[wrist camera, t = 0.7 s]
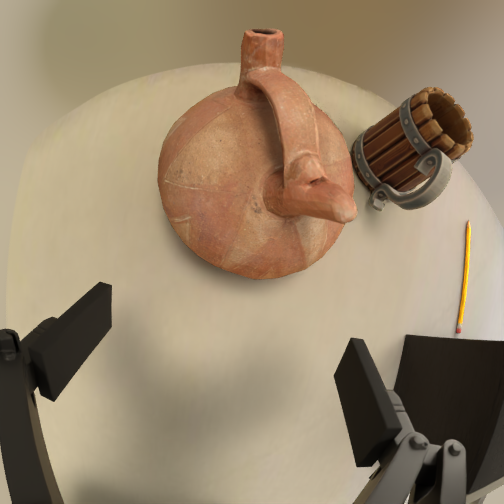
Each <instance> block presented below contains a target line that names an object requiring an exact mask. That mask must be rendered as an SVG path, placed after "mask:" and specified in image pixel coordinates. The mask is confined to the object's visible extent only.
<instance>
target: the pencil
mask: <svg viewBox="0 0 504 504" xmlns="http://www.w3.org/2000/svg"><path fill="white" fill-rule="evenodd" d="M470 232H471V228H470V223H469V220H468V224H467V233H466V255H465V269H464V280H463V289H462V298H461V305H460V312H459V318H458V324H457V330H456V333H460V332H461V327H462V321H463V314H464V307H465V300H466V291H467V282H468V271H469V257H470Z"/></svg>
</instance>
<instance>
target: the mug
mask: <svg viewBox="0 0 504 504" xmlns="http://www.w3.org/2000/svg"><path fill="white" fill-rule="evenodd" d="M454 102H455V100H454V98H453V97H452V96H451V95H449V94H447V93H444V91H443V90H442V89H440V88H438V87H434V88H432V87H427V88H424V89H423V90H421V91H420V92H419V93H416V94H414V95H412V96H411V97H410V98H408V99H407V100H405V101H404V102H403V103H402V104H401V106H400V107H398V108H397V109H396V110H394V111H393V112H392V113H390V114H389V115H387V116H386V117H385V118H383V119H382V120H381V121H379V122H378V123H377V124H375V125H373V126H371V127H369V128H368V129H367V130H365V131H364V132H363V133H362V134H360V135H359V137H358V138H357V140H356V141H355V143H354V145H353V150H352V151H353V155H352V157H353V163H354V166H355V169H356V171H357V173H358V175H359V177H360V178H361V180H362V181H363V182H364V184H365V185H366V186H367V187H368V188H369V189H370V190H371V191H373V193H372V195H371V197H370V200H369V205H370V206H372V207H373V208H375V209H376V210H378V211H383V208H384V205H385V204H384V203H382V202H383V200H384V199H385V198H389V199H390V200H391V201H392V202H394V203H395V204H397V205H398V206H400V207H401V208H403V209H405V210H413V209H418V208H421V207H424V206H426V205H428V204H429V203H431V202H432V201H434V200H435V199H436V198H437V197H438V196H439V195H440V194H441V193H442V192H443V190H444V189H445V187H446V186H447V184H448V182H449V180H450V177H451V174H452V164H453V163H454V162H456V161H457V160H458V159H460V158H461V156H462V155H463V154H465V153H466V152H468V151H469V149H470V148H471V146H472V142H473V138H474V137H473V133H472V132H471V131H470V130H471V124H470V122H469V120H468V118H464V115H465V112H464V110H463V109H462V108H461V106H460V105H458V104H454ZM429 177H430V179H429V180H428V181H427V182H426V183H425V184H424V185H423V186H422V187H421V188H420V189H418V190H416V191H415V192H412V193H409V192H411V191H412V190H414V189H415V188H416V186H417V185H419V184H420V183H422V182H423V181H425V180H426V179H428V178H429ZM407 193H409V194H407Z"/></svg>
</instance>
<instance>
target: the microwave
mask: <svg viewBox="0 0 504 504" xmlns="http://www.w3.org/2000/svg"><path fill="white" fill-rule="evenodd" d="M394 392H395V393H396V394H397V395H398V396H399V398H400V400H401V402H402V404H403V405H402V406H404V409H405V412H406V413H407V415H408V417H409V420H410V422H411V424H412V426H413V429H414V431H415V432H418V433H421V434H422V435H424V436H425V437H426V438H427V439H428V441H429V444H433V445H439V446H442V445H443V444H444V443H445V442H446V441H447V440H450V439H453V440H456V441H459V442H460V443H461V444H462V445H463V446H464V448H465V451H466V494H470V493H472V492H474V491H476V490H478V489H480V488H482V487H484V486H486V485H488V484H490V483H492V482H493V481H495V480H497V479H499V478H501V477H502V476H504V341H490V340H470V339H454V338H440V337H428V336H417V335H406V337H405V343H404V348H403V352H402V357H401V362H400V366H399V371H398V375H397V379H396V383H395V387H394Z"/></svg>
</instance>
